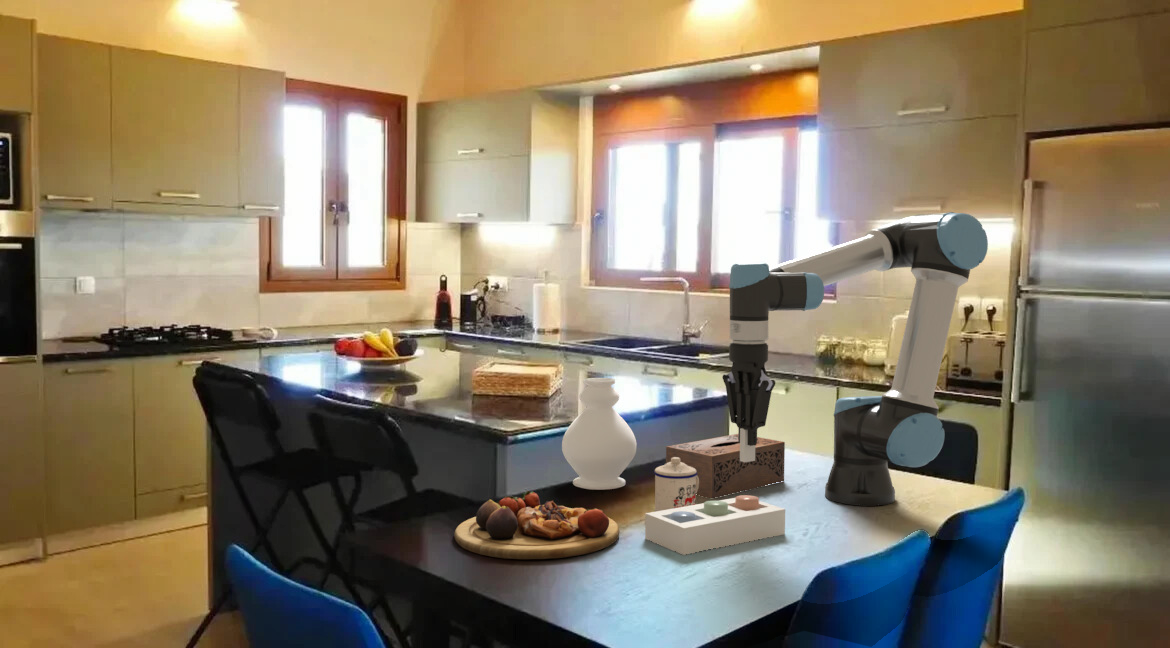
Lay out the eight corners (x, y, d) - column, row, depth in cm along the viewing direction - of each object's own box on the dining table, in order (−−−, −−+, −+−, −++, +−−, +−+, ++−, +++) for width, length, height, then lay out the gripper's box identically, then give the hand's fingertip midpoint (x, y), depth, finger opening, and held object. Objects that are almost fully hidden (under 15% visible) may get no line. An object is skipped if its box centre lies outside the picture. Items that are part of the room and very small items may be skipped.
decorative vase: (649, 480, 234) (650, 378, 233) (611, 496, 219) (612, 386, 218) (587, 472, 244) (587, 373, 242) (547, 486, 229) (547, 381, 227)
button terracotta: (747, 513, 195) (748, 494, 195) (763, 518, 191) (763, 499, 191) (730, 517, 193) (730, 497, 192) (745, 522, 189) (746, 502, 188)
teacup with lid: (677, 520, 200) (678, 464, 199) (645, 511, 206) (645, 457, 205) (714, 509, 208) (714, 456, 207) (681, 501, 214) (681, 449, 214)
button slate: (685, 530, 187) (685, 510, 186) (700, 536, 183) (700, 515, 182) (666, 534, 184) (666, 513, 184) (680, 540, 180) (681, 519, 180)
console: (743, 520, 199) (743, 496, 199) (784, 534, 189) (785, 509, 189) (645, 538, 186) (645, 513, 186) (683, 555, 176) (684, 528, 176)
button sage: (717, 519, 191) (717, 499, 190) (732, 524, 187) (732, 504, 187) (698, 522, 188) (699, 502, 188) (714, 528, 184) (714, 507, 184)
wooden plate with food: (653, 537, 188) (653, 495, 188) (531, 574, 165) (530, 526, 165) (542, 510, 211) (542, 473, 210) (421, 539, 188) (420, 497, 188)
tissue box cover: (738, 472, 245) (738, 433, 244) (784, 482, 234) (784, 441, 233) (665, 488, 228) (666, 446, 227) (711, 500, 217) (711, 456, 216)
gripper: (712, 340, 193) (711, 457, 194) (757, 345, 182) (755, 469, 183) (740, 338, 197) (739, 453, 198) (786, 343, 186) (784, 464, 187)
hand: (747, 460), depth 191 cm, fingers closed
